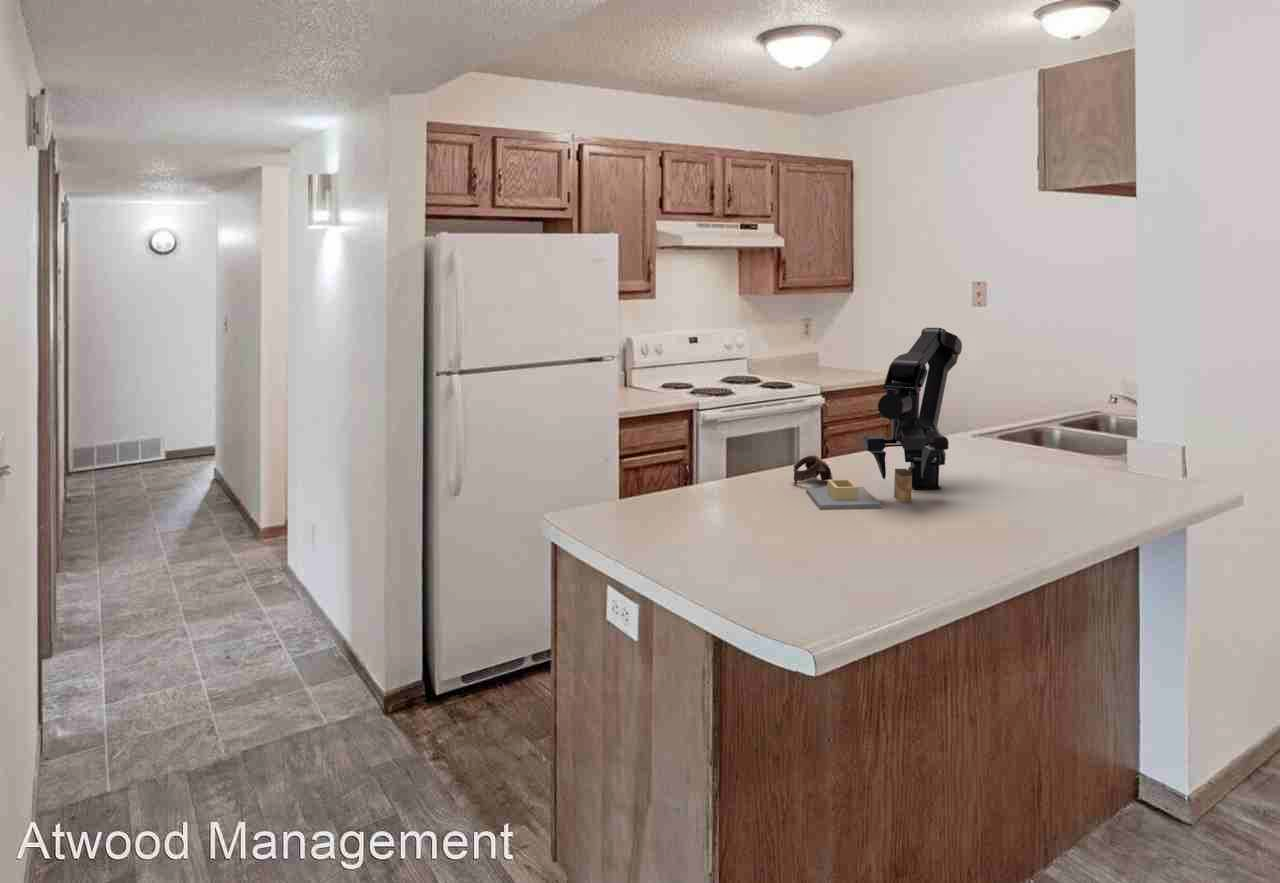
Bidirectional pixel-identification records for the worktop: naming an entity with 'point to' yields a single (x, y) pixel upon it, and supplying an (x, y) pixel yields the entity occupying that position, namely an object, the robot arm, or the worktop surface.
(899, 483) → the wood topped block
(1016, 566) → the worktop surface
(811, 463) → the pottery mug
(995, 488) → the worktop surface
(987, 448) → the worktop surface
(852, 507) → the grey board with socket
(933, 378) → the robot arm
